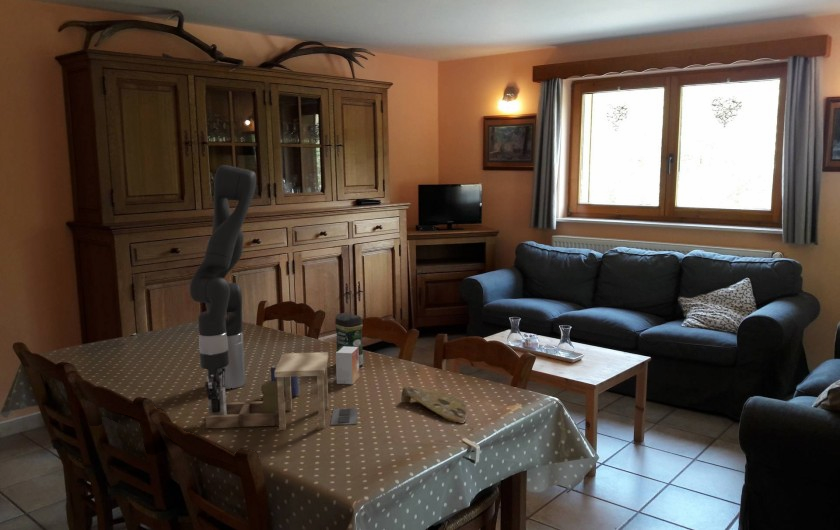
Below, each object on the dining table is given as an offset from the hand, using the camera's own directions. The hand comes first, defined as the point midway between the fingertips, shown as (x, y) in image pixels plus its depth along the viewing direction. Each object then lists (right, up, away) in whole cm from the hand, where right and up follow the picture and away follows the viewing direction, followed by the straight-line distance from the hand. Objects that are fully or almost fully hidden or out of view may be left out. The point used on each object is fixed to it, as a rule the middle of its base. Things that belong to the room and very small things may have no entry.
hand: (217, 409), depth 185 cm
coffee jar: (+31, +4, +51) cm, 60 cm away
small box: (+32, +2, +35) cm, 47 cm away
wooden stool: (+28, -3, +2) cm, 28 cm away
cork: (+15, -3, +1) cm, 15 cm away
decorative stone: (+64, -2, +9) cm, 64 cm away
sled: (+8, -3, +1) cm, 8 cm away
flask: (+14, 0, +21) cm, 26 cm away
